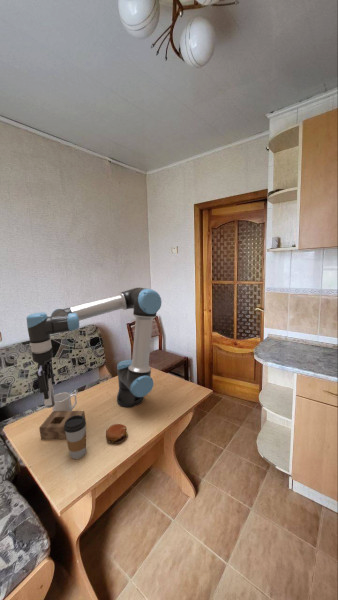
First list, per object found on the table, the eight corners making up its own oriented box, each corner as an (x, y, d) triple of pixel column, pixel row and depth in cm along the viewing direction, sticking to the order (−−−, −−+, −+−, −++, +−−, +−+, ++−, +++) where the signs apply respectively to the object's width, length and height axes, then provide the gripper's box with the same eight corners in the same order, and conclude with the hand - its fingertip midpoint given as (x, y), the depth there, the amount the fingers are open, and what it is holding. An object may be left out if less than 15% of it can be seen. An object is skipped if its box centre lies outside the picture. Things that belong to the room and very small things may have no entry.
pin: (56, 402, 108) (52, 377, 106) (52, 407, 105) (48, 381, 103) (48, 403, 108) (44, 377, 106) (44, 408, 105) (39, 381, 103)
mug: (57, 424, 122) (55, 403, 121) (51, 416, 129) (48, 397, 127) (81, 413, 130) (78, 394, 129) (74, 407, 137) (72, 388, 135)
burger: (103, 434, 114) (103, 425, 113) (123, 427, 118) (122, 418, 117) (109, 448, 105) (108, 438, 104) (130, 440, 109) (129, 431, 108)
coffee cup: (71, 447, 107) (67, 415, 104) (90, 445, 107) (87, 413, 105) (64, 462, 98) (60, 428, 96) (86, 460, 99) (82, 426, 97)
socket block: (85, 421, 123) (84, 410, 122) (75, 438, 112) (74, 426, 111) (54, 422, 124) (52, 411, 123) (41, 439, 112) (39, 427, 111)
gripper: (39, 344, 110) (46, 393, 114) (24, 359, 94) (33, 415, 97) (56, 342, 111) (63, 390, 115) (45, 356, 95) (53, 412, 99)
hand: (50, 401), depth 106 cm, fingers closed on pin, 3 cm apart
